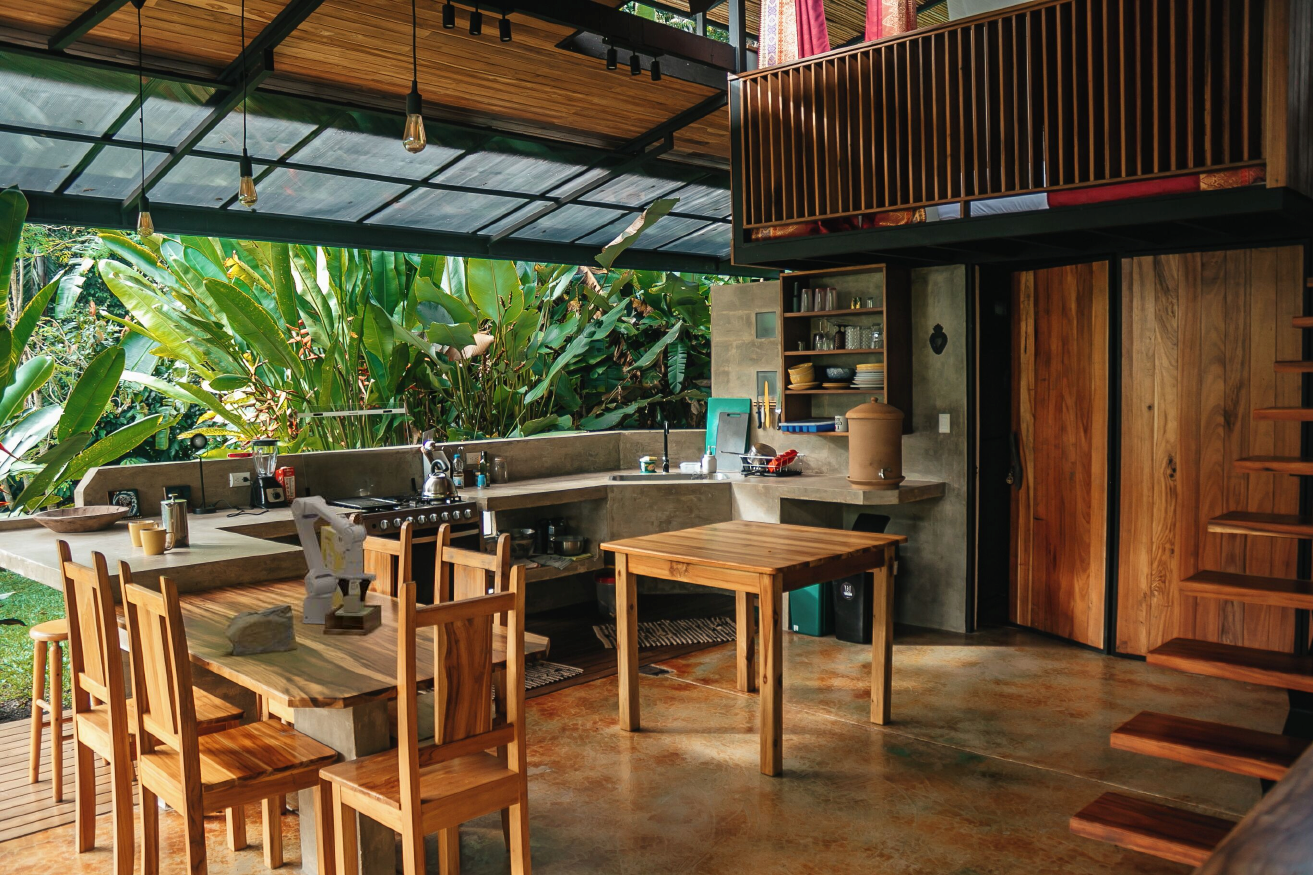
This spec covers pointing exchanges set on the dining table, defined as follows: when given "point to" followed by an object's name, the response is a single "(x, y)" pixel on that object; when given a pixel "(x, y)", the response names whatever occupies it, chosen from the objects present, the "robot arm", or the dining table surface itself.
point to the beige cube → (353, 603)
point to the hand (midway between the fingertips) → (354, 601)
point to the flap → (361, 613)
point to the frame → (352, 621)
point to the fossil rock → (262, 631)
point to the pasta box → (336, 560)
